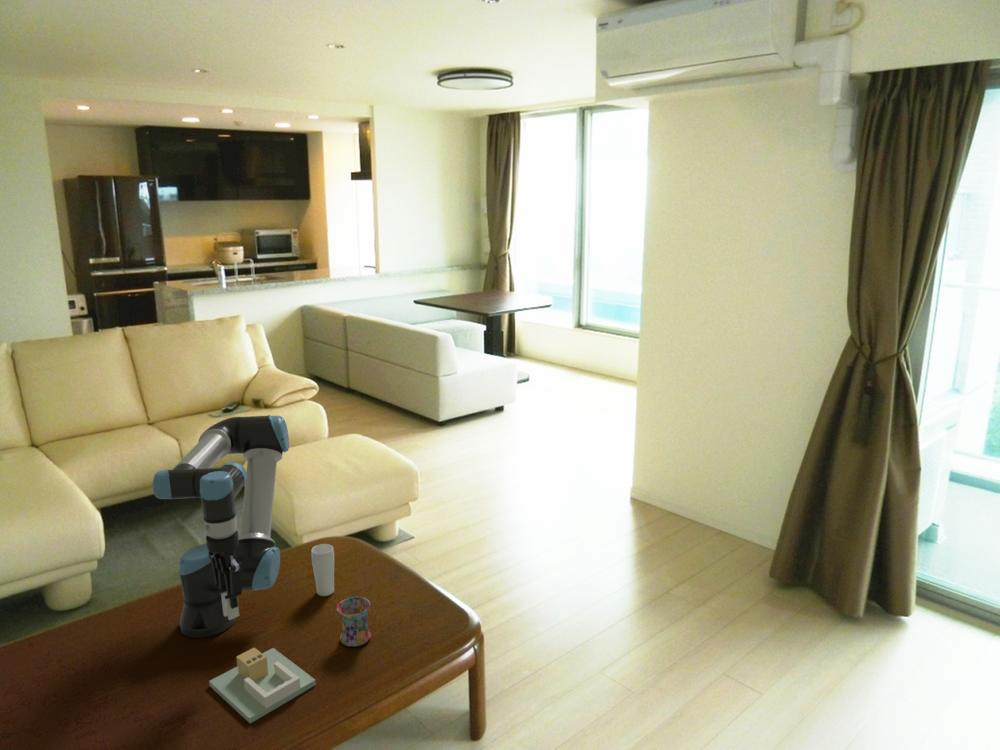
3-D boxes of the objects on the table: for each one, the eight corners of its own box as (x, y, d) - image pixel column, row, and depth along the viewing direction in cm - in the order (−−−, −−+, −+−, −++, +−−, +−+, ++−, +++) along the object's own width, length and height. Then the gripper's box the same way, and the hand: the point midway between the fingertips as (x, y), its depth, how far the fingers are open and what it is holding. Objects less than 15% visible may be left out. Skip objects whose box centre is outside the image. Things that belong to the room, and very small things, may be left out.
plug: (238, 673, 179) (236, 655, 178) (256, 664, 183) (254, 646, 182) (250, 683, 176) (248, 665, 174) (268, 674, 179) (266, 656, 178)
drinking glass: (338, 586, 223) (335, 543, 219) (334, 597, 216) (331, 553, 213) (317, 586, 223) (313, 543, 219) (312, 598, 216) (308, 554, 212)
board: (209, 686, 177) (207, 670, 176) (273, 652, 190) (272, 638, 189) (250, 723, 164) (248, 707, 163) (315, 684, 177) (314, 669, 176)
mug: (373, 646, 192) (371, 612, 190) (339, 652, 190) (336, 617, 187) (370, 622, 203) (368, 589, 201) (338, 627, 201) (335, 594, 199)
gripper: (193, 529, 179) (204, 611, 184) (221, 547, 169) (232, 633, 175) (221, 519, 184) (231, 599, 190) (250, 536, 174) (259, 620, 180)
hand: (231, 615), depth 182 cm, fingers open, 2 cm apart
